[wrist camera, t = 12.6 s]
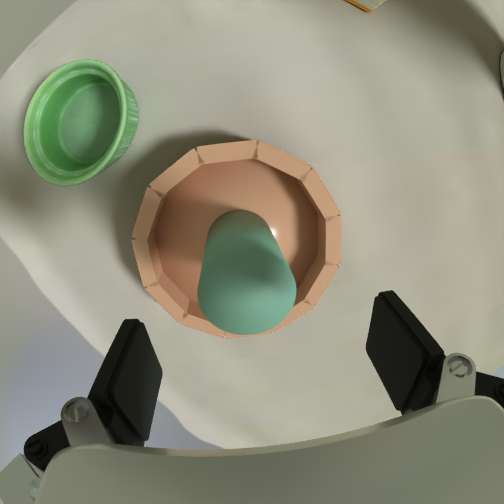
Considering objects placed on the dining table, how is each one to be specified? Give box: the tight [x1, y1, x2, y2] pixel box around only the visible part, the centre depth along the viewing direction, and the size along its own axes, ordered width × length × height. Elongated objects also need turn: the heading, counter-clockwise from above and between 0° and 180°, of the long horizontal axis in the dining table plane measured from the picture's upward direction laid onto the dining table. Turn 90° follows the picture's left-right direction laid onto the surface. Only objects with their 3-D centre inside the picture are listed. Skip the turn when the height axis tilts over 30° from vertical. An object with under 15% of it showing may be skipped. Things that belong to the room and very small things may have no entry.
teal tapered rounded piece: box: [197, 210, 296, 335], centre depth 18 cm, size 5×5×8 cm
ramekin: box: [23, 59, 138, 186], centre depth 16 cm, size 9×9×4 cm
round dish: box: [131, 140, 341, 338], centre depth 21 cm, size 15×15×3 cm
